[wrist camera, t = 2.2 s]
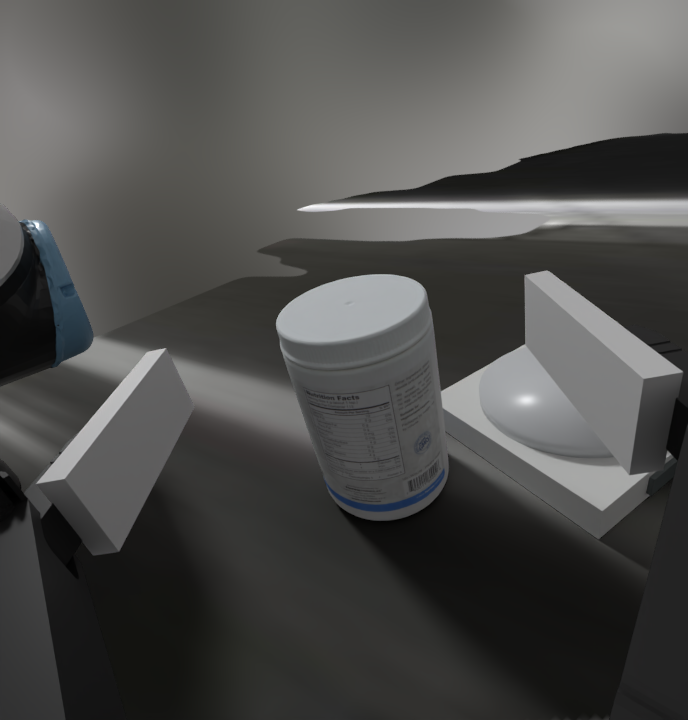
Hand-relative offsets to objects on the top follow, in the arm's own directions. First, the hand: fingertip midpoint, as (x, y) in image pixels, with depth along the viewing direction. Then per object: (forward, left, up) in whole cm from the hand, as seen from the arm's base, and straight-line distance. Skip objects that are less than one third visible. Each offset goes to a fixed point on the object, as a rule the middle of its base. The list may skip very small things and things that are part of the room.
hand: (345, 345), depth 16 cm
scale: (-4, +19, -17) cm, 26 cm away
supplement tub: (-9, +5, -17) cm, 20 cm away
